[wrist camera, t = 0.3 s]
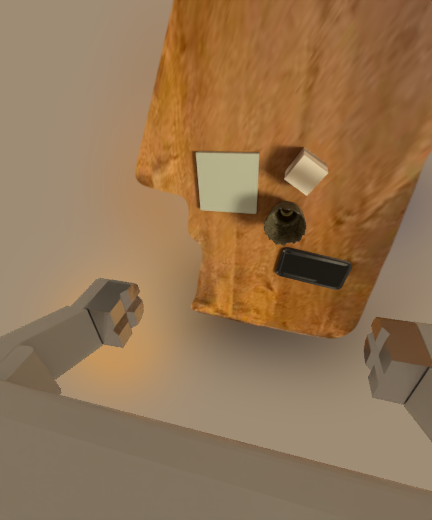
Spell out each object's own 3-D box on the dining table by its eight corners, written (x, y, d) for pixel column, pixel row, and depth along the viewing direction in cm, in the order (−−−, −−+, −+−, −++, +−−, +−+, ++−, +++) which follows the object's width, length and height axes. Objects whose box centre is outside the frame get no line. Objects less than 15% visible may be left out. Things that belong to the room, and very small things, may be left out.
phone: (283, 247, 61) (353, 264, 59) (283, 245, 62) (353, 261, 60) (274, 275, 66) (339, 291, 64) (275, 272, 67) (339, 288, 65)
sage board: (197, 151, 54) (195, 152, 53) (259, 152, 51) (258, 154, 51) (201, 208, 61) (200, 210, 60) (256, 211, 58) (256, 213, 58)
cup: (271, 227, 60) (267, 248, 53) (264, 195, 56) (259, 213, 50) (308, 222, 57) (308, 243, 51) (303, 188, 53) (303, 206, 47)
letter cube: (304, 146, 49) (304, 154, 45) (326, 163, 50) (328, 172, 46) (285, 170, 52) (283, 179, 48) (306, 185, 53) (306, 196, 49)
